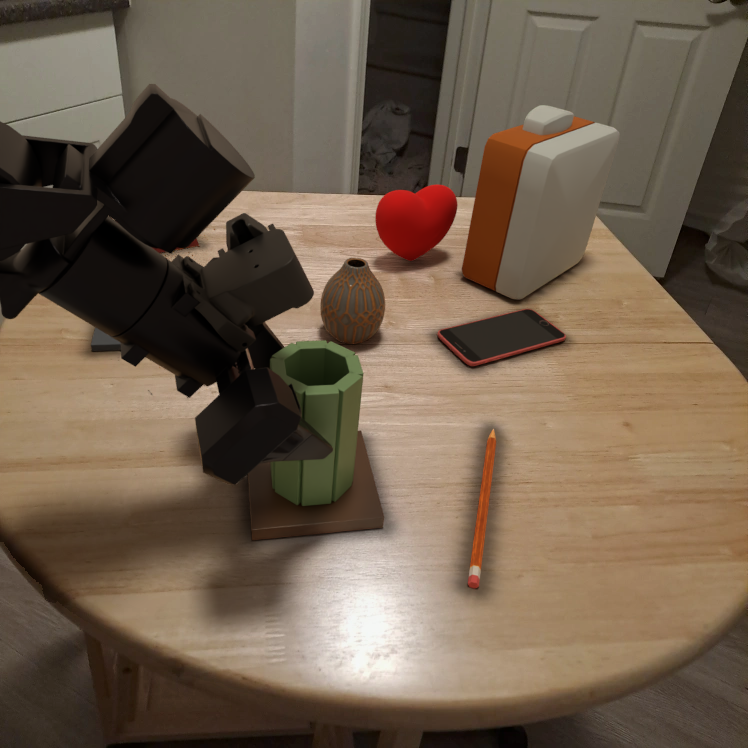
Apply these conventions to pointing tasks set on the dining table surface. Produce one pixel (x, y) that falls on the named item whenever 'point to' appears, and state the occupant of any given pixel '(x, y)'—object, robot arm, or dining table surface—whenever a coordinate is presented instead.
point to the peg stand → (289, 519)
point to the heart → (415, 219)
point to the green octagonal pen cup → (321, 418)
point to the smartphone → (500, 336)
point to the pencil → (482, 513)
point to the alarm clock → (537, 200)
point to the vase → (353, 303)
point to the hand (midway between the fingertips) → (312, 411)
